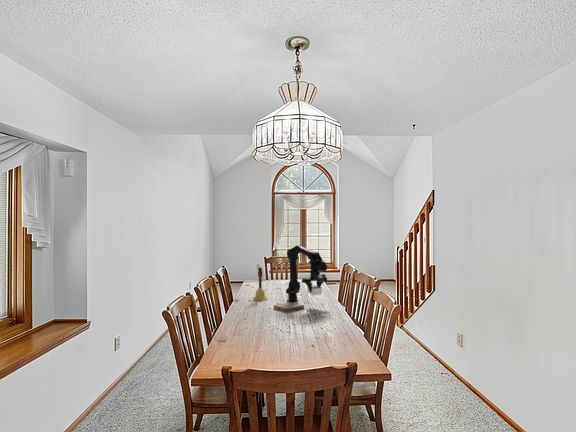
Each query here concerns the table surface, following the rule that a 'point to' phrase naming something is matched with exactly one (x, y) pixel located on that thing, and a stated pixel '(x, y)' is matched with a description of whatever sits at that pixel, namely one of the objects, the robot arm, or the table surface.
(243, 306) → the table surface
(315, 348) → the table surface
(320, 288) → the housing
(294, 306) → the walnut stand
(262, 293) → the handbell
